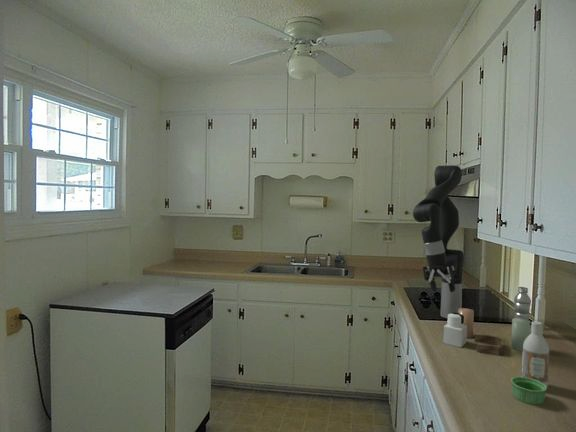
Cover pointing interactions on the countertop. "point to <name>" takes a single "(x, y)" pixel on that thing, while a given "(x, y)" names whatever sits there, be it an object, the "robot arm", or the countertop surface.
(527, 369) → the bath foam
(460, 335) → the medicine bottle
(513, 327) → the sage canister
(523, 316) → the plastic bottle
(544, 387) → the ramekin
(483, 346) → the corral
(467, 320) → the terracotta canister
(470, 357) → the countertop surface
